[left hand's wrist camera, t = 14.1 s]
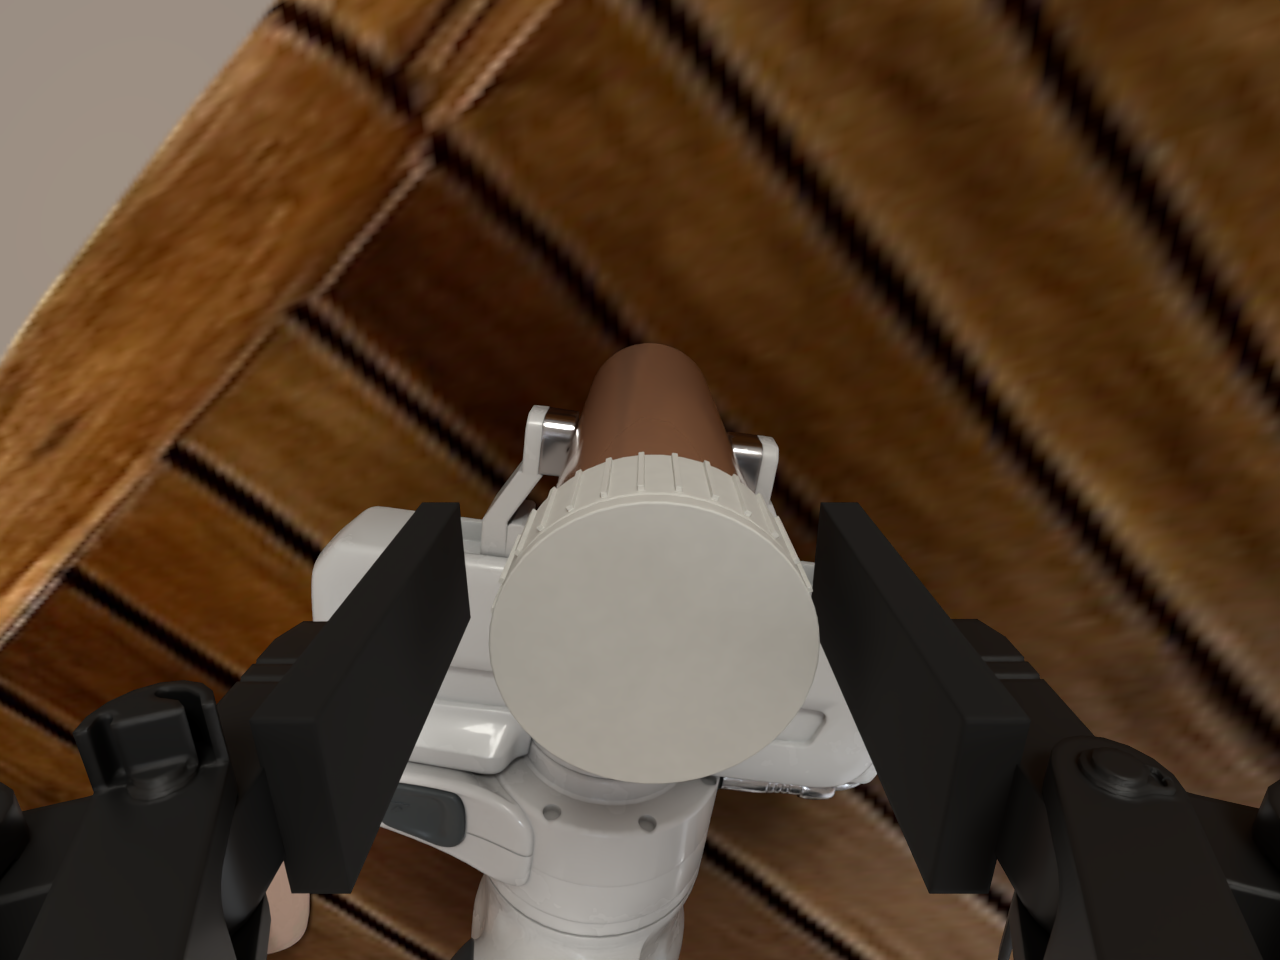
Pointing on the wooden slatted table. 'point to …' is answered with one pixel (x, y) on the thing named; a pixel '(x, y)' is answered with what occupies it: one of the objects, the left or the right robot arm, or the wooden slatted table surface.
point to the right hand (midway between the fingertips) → (653, 424)
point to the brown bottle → (649, 413)
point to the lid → (653, 622)
